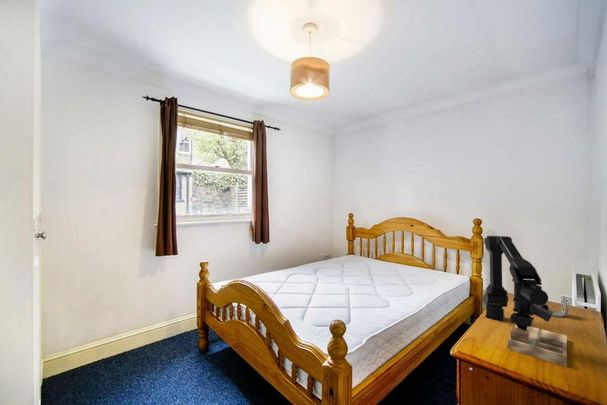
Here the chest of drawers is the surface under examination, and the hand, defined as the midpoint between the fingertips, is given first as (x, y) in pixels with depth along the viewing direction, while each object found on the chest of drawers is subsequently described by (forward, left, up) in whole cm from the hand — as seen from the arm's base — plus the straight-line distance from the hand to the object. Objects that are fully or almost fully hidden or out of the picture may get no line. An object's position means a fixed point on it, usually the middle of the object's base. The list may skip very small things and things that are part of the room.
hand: (523, 335), depth 106 cm
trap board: (+4, +3, -3) cm, 6 cm away
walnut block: (-1, -4, -1) cm, 5 cm away
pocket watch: (+9, +47, -3) cm, 48 cm away
